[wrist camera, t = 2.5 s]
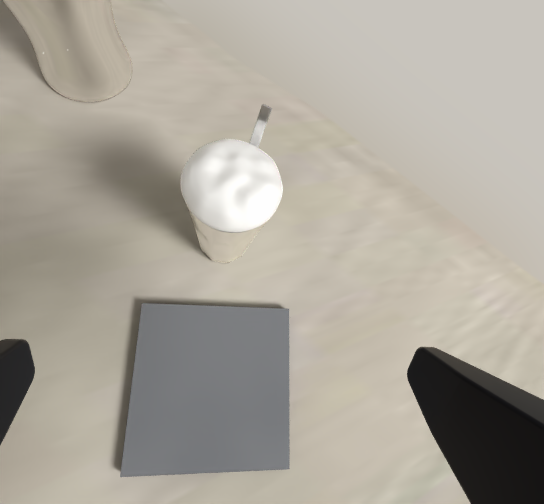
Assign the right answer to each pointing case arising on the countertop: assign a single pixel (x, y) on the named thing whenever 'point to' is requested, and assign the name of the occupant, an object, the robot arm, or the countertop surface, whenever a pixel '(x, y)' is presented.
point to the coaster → (208, 391)
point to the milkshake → (231, 192)
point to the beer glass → (76, 46)
